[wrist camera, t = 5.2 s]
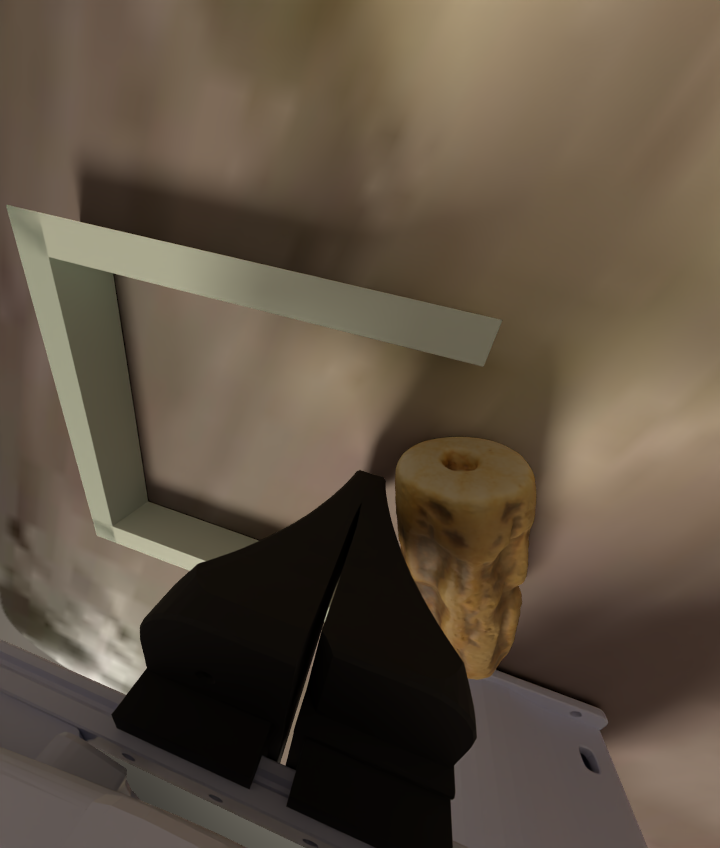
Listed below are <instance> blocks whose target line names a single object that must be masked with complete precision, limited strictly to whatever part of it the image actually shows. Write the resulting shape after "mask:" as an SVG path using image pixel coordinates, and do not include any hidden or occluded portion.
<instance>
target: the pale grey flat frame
mask: <svg viewBox="0 0 720 848" xmlns="http://www.w3.org/2000/svg"><path fill="white" fill-rule="evenodd" d="M6 207H7V210H8V214H9V218H10V221H11V225H12V229H13V232H14V236H15V239H16V243H17V247H18V250H19V254H20V258H21V261H22V265H23V269H24V272H25V276H26V279H27V283H28V287H29V290H30V294H31V298H32V301H33V305H34V309H35V312H36V316H37V319H38V323H39V327H40V330H41V334H42V338H43V341H44V345H45V349H46V352H47V356H48V359H49V363H50V367H51V370H52V374H53V378H54V381H55V385H56V389H57V392H58V396H59V399H60V403H61V407H62V410H63V414H64V418H65V421H66V425H67V429H68V432H69V436H70V439H71V443H72V447H73V450H74V454H75V458H76V461H77V465H78V468H79V472H80V476H81V479H82V483H83V487H84V490H85V494H86V498H87V501H88V505H89V508H90V512H91V516H92V519H93V523H94V527H95V530H96V534H97V536H99V537H102V538H105V539H107V540H110V541H113V542H115V543H118V544H120V545H123V546H126V547H128V548H131V549H134V550H136V551H139V552H142V553H144V554H147V555H149V556H152V557H155V558H157V559H160V560H163V561H165V562H168V563H171V564H173V565H176V566H179V567H181V568H184V569H186V570H189V571H190V570H191V569H192V568H194V567H195V566H196V565H197V564H199V563H202V562H205V561H208V560H211V559H214V558H217V557H220V556H223V555H225V554H228V553H231V552H234V551H237V550H239V549H242V548H244V547H246V546H249V545H251V544H253V543H255V542H258V541H259V540H256V539H253V538H250V537H247V536H244V535H242V534H239V533H236V532H233V531H230V530H227V529H225V528H222V527H219V526H216V525H213V524H210V523H208V522H205V521H202V520H199V519H196V518H194V517H191V516H188V515H185V514H182V513H179V512H177V511H174V510H171V509H168V508H165V507H162V506H160V505H157V504H154V503H151V502H148V498H147V491H146V485H145V478H144V472H143V465H142V459H141V452H140V446H139V439H138V433H137V426H136V420H135V413H134V407H133V400H132V394H131V387H130V381H129V374H128V368H127V361H126V355H125V348H124V342H123V335H122V329H121V322H120V316H119V309H118V303H117V296H116V290H115V283H114V277H113V273H114V274H118V275H122V276H126V277H130V278H134V279H138V280H142V281H146V282H150V283H154V284H158V285H162V286H166V287H170V288H174V289H178V290H181V291H185V292H189V293H193V294H197V295H201V296H205V297H209V298H213V299H217V300H221V301H225V302H229V303H233V304H237V305H241V306H245V307H249V308H253V309H257V310H261V311H265V312H269V313H273V314H277V315H280V316H284V317H288V318H292V319H296V320H300V321H304V322H308V323H312V324H316V325H320V326H324V327H328V328H332V329H336V330H340V331H344V332H348V333H352V334H356V335H360V336H364V337H368V338H372V339H376V340H379V341H383V342H387V343H391V344H395V345H399V346H403V347H407V348H411V349H415V350H419V351H423V352H427V353H431V354H435V355H439V356H443V357H447V358H451V359H455V360H459V361H463V362H467V363H471V364H474V365H478V366H482V367H484V364H485V362H486V359H487V357H488V355H489V352H490V350H491V347H492V345H493V342H494V340H495V337H496V335H497V332H498V330H499V327H500V325H501V323H502V320H501V319H496V318H492V317H488V316H483V315H479V314H475V313H470V312H466V311H462V310H457V309H453V308H449V307H445V306H440V305H436V304H432V303H427V302H423V301H419V300H414V299H410V298H406V297H401V296H397V295H393V294H388V293H384V292H380V291H376V290H371V289H367V288H363V287H358V286H354V285H350V284H345V283H341V282H337V281H332V280H328V279H324V278H320V277H315V276H311V275H307V274H302V273H298V272H294V271H289V270H285V269H281V268H276V267H272V266H268V265H264V264H259V263H255V262H251V261H246V260H242V259H238V258H233V257H229V256H225V255H220V254H216V253H212V252H207V251H203V250H199V249H195V248H190V247H186V246H182V245H177V244H173V243H169V242H164V241H160V240H156V239H151V238H147V237H143V236H139V235H134V234H130V233H126V232H121V231H117V230H113V229H108V228H104V227H100V226H95V225H91V224H87V223H83V222H78V221H74V220H70V219H65V218H61V217H57V216H52V215H48V214H44V213H39V212H35V211H31V210H26V209H22V208H18V207H14V206H9V205H6ZM339 579H340V578H339ZM338 582H339V581H338ZM337 585H338V583H337ZM336 588H337V586H336ZM336 588H335V591H336ZM335 591H334V593H333V596H332V599H333V597H334V594H335ZM332 599H331V602H332ZM331 602H330V605H331ZM330 605H329V608H330ZM329 608H328V611H329ZM328 611H327V614H328ZM327 614H326V617H327ZM326 617H325V620H326ZM324 622H325V621H324Z"/></svg>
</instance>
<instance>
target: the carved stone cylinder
mask: <svg viewBox="0 0 720 848" xmlns="http://www.w3.org/2000/svg"><path fill="white" fill-rule="evenodd" d="M395 491H396V497H395V499H396V514H397V522H398V523H397V524H398V536H399V541H400V544H401V552H402V554H403V557H404V559H405V561H406V564H407V566H408V568H409V570H410V573H411V575H412V577H413V579H414V581H415V583H416V585H417V587H418V589H419V591H420V592H421V594H422V596H423V598H424V600H425V602H426V604H427V606H428V608H429V609H430V611H431V613H432V614H433V616H434V618H435V619H436V621H437V623H438V625H439V626H440V628H441V629H442V631H443V632H444V634H445V635H446V637H447V638H448V640H449V641H450V643H451V644H452V646H453V647H454V649H455V650H456V652H457V653H458V655H459V656H460V658H461V659H462V661H463V662H464V665H465V669H466V673H467V677H468V679H475V680H479V679H484V678H488V677H490V676H491V675H492V674H493V673H494V671H495V670H496V668H497V666H498V665H499V663H500V662H501V660H502V659H503V658H504V657H505V656H506V655H507V654H508V652H509V651H510V648H511V646H512V643H513V641H514V639H515V633H516V628H517V625H518V621H519V616H520V607H521V605H522V599H521V597H522V595H521V591H520V588H519V586H518V585H520V584H522V583H523V582H524V580H525V578H526V577H527V568H528V547H529V541H528V537H529V533H530V528H531V526H532V524H533V522H534V517H535V506H536V485H535V478H534V474H533V472H532V469H531V468H530V466H529V464H528V463H527V462H526V461H525V459H524V458H523V457H522V456H521V455H520V454H519V453H518V452H516V451H514V450H512V449H510V448H509V447H506V446H505V445H502V444H499V443H498V442H494V441H490V440H486V439H480V438H471V437H445V438H437V439H432V440H428V441H424V442H421V443H418V444H416V445H415V446H413V447H411V448H410V449H408V450H407V451H406V452H404V454H403V455H402V456H401V458H400V459H399V461H398V464H397V466H396V474H395Z"/></svg>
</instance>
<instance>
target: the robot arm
mask: <svg viewBox="0 0 720 848" xmlns="http://www.w3.org/2000/svg"><path fill="white" fill-rule="evenodd" d="M385 482H386V481H385V479H384V477H380V476H377V475H374V474H371V473H367V472H364V471H361V470H359V471H357V472H356V473H355V474H354V475H353V477H352V478H351V479H350V480H349V481H348V482H347V483H346V484H345V485H344V486H343V487H342V488H341V489H340V490H338V491H337V492H336V493H335V494H334V495H333V496H332V497H331V498H329V499H328V500H327V501H325V502H324V503H323V504H322V505H320V506H319V507H318V508H316V509H315V510H313V511H312V512H311V513H309V514H308V515H306V516H305V517H303V518H301V519H300V520H298V521H297V522H295V523H293V524H291V525H290V526H288V527H286V528H284V529H282V530H281V531H279V532H277V533H275V534H273V535H271V536H269V537H267V538H264V539H262V540H260V541H258V542H255V543H253V544H251V545H249V546H246V547H244V548H242V549H239V550H237V551H234V552H231V553H228V554H225V555H223V556H220V557H217V558H214V559H211V560H208V561H205V562H202V563H199V564H197V565H196V566H195V567H194V568H192V569H191V570H190V571H189V572H188V573H187V574H186V575H185V576H184V577H183V578H181V579H180V580H179V581H178V582H177V583H176V584H175V585H174V586H173V587H172V588H171V589H170V590H169V592H168V593H167V594H166V595H165V596H164V597H163V598H162V599H161V600H160V602H159V603H158V604H157V605H156V606H155V607H154V608H153V609H152V610H151V612H150V613H149V614H148V615H147V616H146V617H145V618H144V620H143V622H142V623H141V625H140V641H141V645H142V649H143V653H144V657H145V661H146V666H147V669H146V670H145V671H144V673H143V674H142V675H141V677H140V678H139V679H138V681H137V682H136V683H135V684H134V686H133V687H132V688H131V690H130V691H129V692H128V694H127V695H125V694H123V693H120V692H118V691H116V690H114V689H111V688H109V687H107V686H105V685H102V684H100V683H98V682H96V681H93V680H91V679H89V678H87V677H85V676H82V675H80V674H78V673H76V672H73V671H71V670H69V669H67V668H64V667H62V666H60V665H58V664H55V663H53V662H51V661H48V660H46V659H44V658H42V657H40V656H37V655H35V654H33V653H31V652H28V651H26V650H24V649H22V648H19V647H17V646H15V645H13V644H10V643H8V642H6V641H3V640H1V639H0V848H246V847H244V846H242V845H240V844H238V843H236V842H234V841H232V840H230V839H228V838H226V837H224V836H222V835H219V834H217V833H215V832H213V831H211V830H208V829H206V828H204V827H202V826H200V825H197V824H195V823H193V822H190V821H188V820H186V819H183V818H182V817H179V816H177V815H175V814H172V813H170V812H167V811H165V810H163V809H160V808H158V807H155V806H153V805H150V804H148V803H145V802H143V801H141V800H140V799H139V798H138V797H137V796H136V794H135V793H134V792H133V791H132V790H131V788H130V786H129V784H128V782H127V780H126V775H127V770H126V768H124V767H123V766H121V765H120V764H118V763H117V762H115V761H114V760H112V759H111V758H110V757H108V756H107V755H105V754H104V753H102V752H101V751H99V750H102V751H104V752H106V753H108V754H110V755H112V756H114V757H116V758H118V759H121V760H122V761H125V762H127V763H129V764H131V765H133V766H135V767H137V768H139V769H142V770H143V771H146V772H148V773H150V774H152V775H154V776H156V777H158V778H160V779H162V780H165V781H167V782H169V783H171V784H173V785H175V786H177V787H179V788H181V789H183V790H185V791H188V792H190V793H192V794H194V795H196V796H198V797H200V798H202V799H204V800H207V801H209V802H211V803H213V804H215V805H217V806H219V807H221V808H223V809H225V810H227V811H230V812H232V813H234V814H236V815H238V816H240V817H242V818H244V819H246V820H248V821H251V822H253V823H255V824H257V825H259V826H261V827H263V828H265V829H267V830H269V831H272V832H274V833H276V834H278V835H280V836H282V837H284V838H286V839H288V840H291V841H293V842H295V843H297V844H299V845H301V846H303V847H305V848H648V847H647V845H646V842H645V840H644V837H643V835H642V832H641V830H640V828H639V825H638V823H637V820H636V818H635V815H634V813H633V810H632V808H631V805H630V803H629V801H628V798H627V796H626V793H625V791H624V788H623V786H622V783H621V781H620V779H619V776H618V774H617V771H616V769H615V766H614V764H613V761H612V759H611V757H610V754H609V752H608V749H607V747H606V744H605V742H604V739H603V737H602V735H601V732H600V730H601V729H602V728H604V727H605V726H606V725H607V724H608V720H607V718H606V715H605V713H604V712H603V711H602V710H601V709H599V708H597V707H594V706H591V705H589V704H586V703H583V702H581V701H578V700H575V699H573V698H570V697H567V696H565V695H562V694H559V693H557V692H554V691H551V690H548V689H546V688H543V687H540V686H538V685H535V684H532V683H530V682H527V681H524V680H522V679H519V678H516V677H514V676H511V675H508V674H506V673H503V672H500V671H497V670H495V671H494V673H493V674H492V675H491V676H490V677H488V678H484V679H479V680H475V679H468V677H467V673H466V669H465V665H464V662H463V661H462V659H461V658H460V656H459V655H458V653H457V652H456V650H455V649H454V647H453V646H452V644H451V643H450V641H449V640H448V638H447V637H446V635H445V634H444V632H443V631H442V629H441V628H440V626H439V625H438V623H437V621H436V619H435V618H434V616H433V614H432V613H431V611H430V609H429V608H428V606H427V604H426V602H425V600H424V598H423V596H422V594H421V592H420V591H419V589H418V587H417V585H416V583H415V581H414V579H413V577H412V575H411V573H410V570H409V568H408V566H407V564H406V561H405V559H404V557H403V554H402V552H401V549H400V546H399V543H398V541H397V538H396V534H395V531H394V528H393V524H392V521H391V517H390V512H389V508H388V503H387V497H386V488H385ZM339 578H340V579H339ZM338 581H339V582H338ZM337 583H338V585H337ZM336 586H337V588H336ZM335 588H336V591H335ZM334 591H335V594H334V597H333V599H332V596H333V593H334ZM331 599H332V602H331ZM330 602H331V605H330ZM329 605H330V608H329ZM328 608H329V611H328ZM327 611H328V614H327ZM326 614H327V617H326ZM325 617H326V620H325ZM324 621H325V623H324ZM323 624H324V626H323ZM322 627H323V628H322ZM321 630H322V632H321ZM320 633H321V636H320ZM319 636H320V639H319ZM318 640H319V643H318ZM317 643H318V647H317V651H316V655H315V659H314V663H313V667H312V671H311V675H310V678H309V682H308V686H307V690H306V693H305V696H304V699H303V702H302V706H301V709H300V712H299V715H298V718H297V722H296V725H295V728H294V734H293V738H292V742H291V746H290V750H289V754H288V758H287V762H286V766H285V765H282V764H280V762H281V758H282V755H283V752H284V749H285V745H286V742H287V739H288V736H289V733H290V729H291V726H292V723H293V720H294V716H295V713H296V710H297V707H298V704H299V700H300V697H301V694H302V691H303V687H304V684H305V681H306V678H307V675H308V671H309V668H310V665H311V662H312V659H313V655H314V652H315V649H316V646H317ZM96 748H97V749H96ZM98 749H99V750H98Z"/></svg>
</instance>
